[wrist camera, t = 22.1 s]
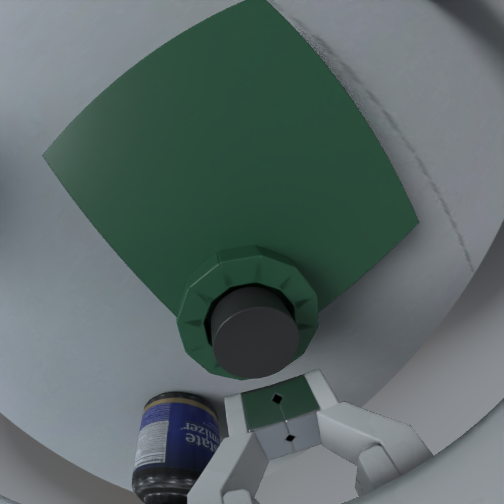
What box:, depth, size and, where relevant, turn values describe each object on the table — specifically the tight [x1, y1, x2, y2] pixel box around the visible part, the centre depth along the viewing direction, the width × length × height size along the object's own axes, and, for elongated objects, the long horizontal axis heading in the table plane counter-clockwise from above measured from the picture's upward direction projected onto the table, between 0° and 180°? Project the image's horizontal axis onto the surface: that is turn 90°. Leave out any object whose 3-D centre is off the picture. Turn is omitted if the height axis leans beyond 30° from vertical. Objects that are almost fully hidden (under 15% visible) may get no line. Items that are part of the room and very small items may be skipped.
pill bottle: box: [132, 392, 220, 504], centre depth 14 cm, size 6×6×11 cm
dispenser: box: [43, 0, 419, 380], centre depth 13 cm, size 16×14×5 cm
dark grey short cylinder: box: [211, 287, 300, 379], centre depth 12 cm, size 4×4×2 cm
